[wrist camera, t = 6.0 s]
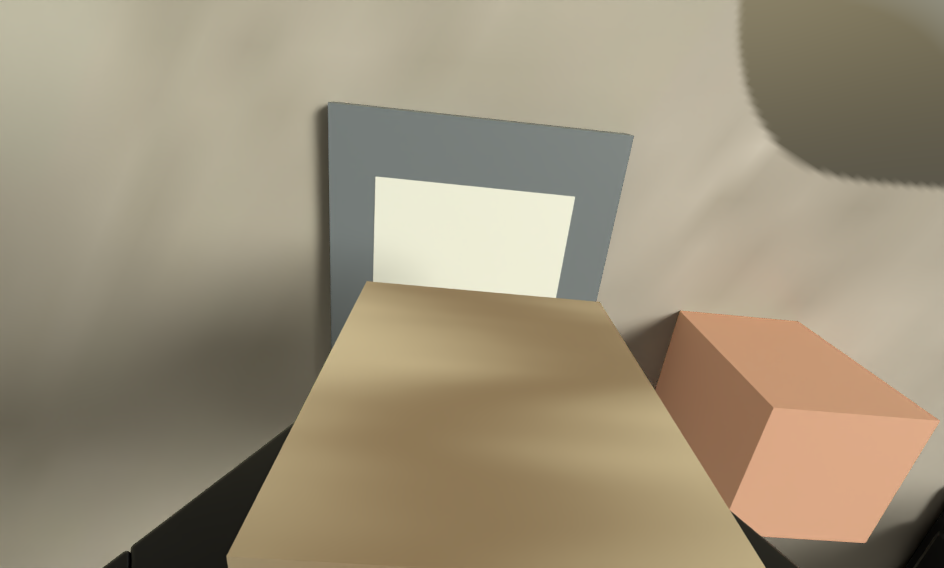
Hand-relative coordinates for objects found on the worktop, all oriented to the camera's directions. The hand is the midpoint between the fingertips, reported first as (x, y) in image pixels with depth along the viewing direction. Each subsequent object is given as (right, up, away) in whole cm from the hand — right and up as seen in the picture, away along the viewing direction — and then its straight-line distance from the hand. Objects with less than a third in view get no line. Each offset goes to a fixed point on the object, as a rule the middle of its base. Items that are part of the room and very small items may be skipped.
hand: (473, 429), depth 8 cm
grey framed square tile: (0, +3, +7) cm, 7 cm away
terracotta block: (+9, 0, +8) cm, 12 cm away
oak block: (0, +1, +1) cm, 1 cm away
